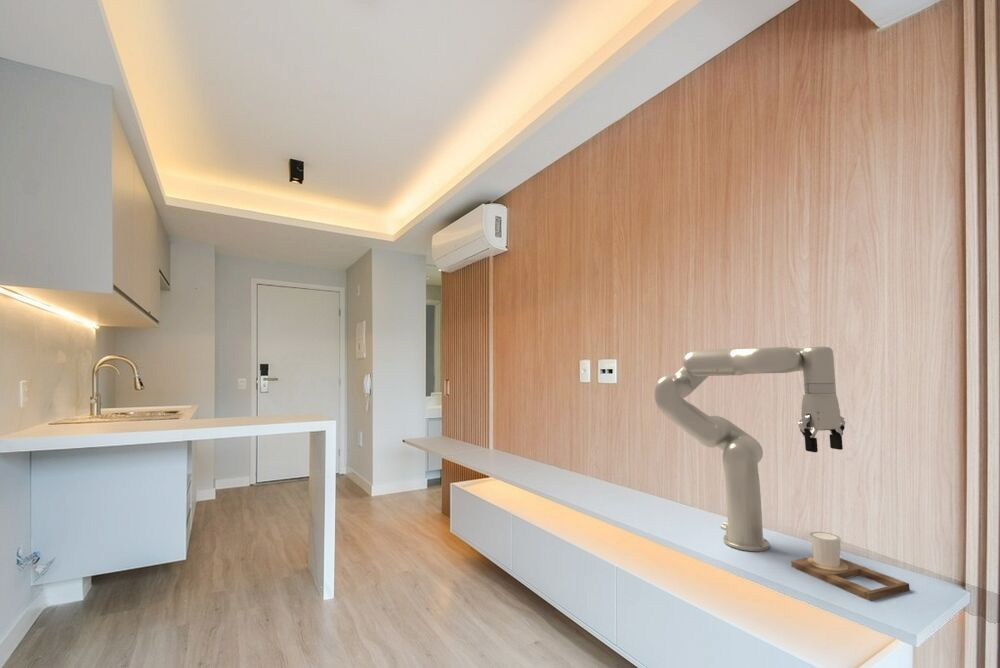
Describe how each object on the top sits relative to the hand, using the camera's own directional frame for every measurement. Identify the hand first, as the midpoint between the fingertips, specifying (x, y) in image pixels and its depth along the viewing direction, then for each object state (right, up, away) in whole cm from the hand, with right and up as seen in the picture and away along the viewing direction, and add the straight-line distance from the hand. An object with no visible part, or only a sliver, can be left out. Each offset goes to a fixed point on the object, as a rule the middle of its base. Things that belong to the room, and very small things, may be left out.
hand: (824, 450), depth 133 cm
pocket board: (-3, -30, -13) cm, 32 cm away
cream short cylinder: (-5, -28, -8) cm, 30 cm away
